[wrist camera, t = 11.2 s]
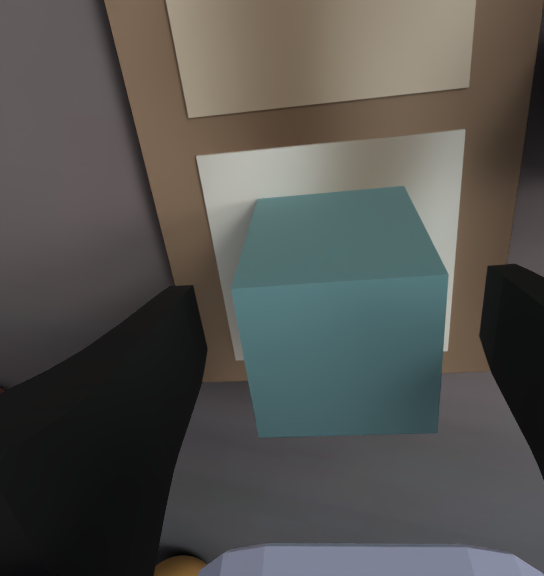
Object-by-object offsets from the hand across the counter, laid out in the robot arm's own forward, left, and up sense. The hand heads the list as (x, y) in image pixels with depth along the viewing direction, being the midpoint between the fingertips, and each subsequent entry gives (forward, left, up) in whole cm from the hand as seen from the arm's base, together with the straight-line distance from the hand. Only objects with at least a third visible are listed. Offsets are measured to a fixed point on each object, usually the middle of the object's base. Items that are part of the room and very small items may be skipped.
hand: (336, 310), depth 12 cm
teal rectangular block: (0, 0, -3) cm, 3 cm away
